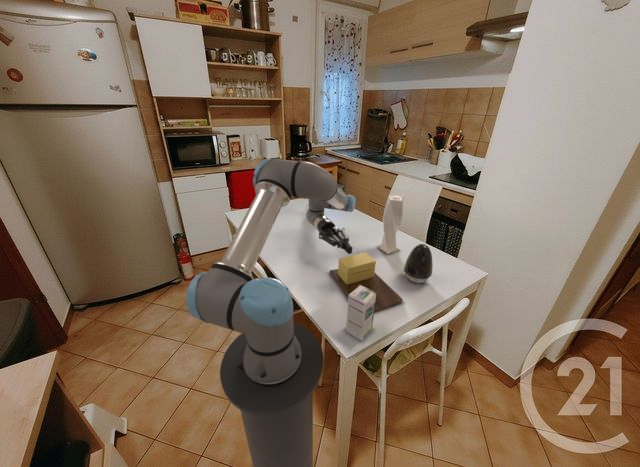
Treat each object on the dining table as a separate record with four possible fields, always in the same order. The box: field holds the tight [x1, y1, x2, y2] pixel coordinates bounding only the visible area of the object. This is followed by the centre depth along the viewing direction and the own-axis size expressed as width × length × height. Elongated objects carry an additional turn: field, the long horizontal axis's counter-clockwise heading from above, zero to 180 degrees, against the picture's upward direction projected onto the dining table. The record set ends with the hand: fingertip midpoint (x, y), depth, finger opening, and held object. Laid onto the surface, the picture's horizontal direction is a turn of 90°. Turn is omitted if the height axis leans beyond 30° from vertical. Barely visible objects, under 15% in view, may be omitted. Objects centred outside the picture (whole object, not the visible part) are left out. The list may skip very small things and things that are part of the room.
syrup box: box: [346, 285, 376, 341], centre depth 76 cm, size 6×6×14 cm
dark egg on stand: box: [403, 243, 434, 284], centre depth 99 cm, size 10×10×15 cm
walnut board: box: [328, 268, 404, 313], centre depth 98 cm, size 16×25×2 cm, turn 24°
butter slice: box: [338, 252, 377, 275], centre depth 99 cm, size 12×7×3 cm, turn 114°
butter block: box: [337, 265, 376, 284], centre depth 101 cm, size 12×7×4 cm, turn 114°
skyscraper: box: [377, 193, 405, 255], centre depth 115 cm, size 8×8×28 cm
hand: (350, 250), depth 102 cm, fingers closed
